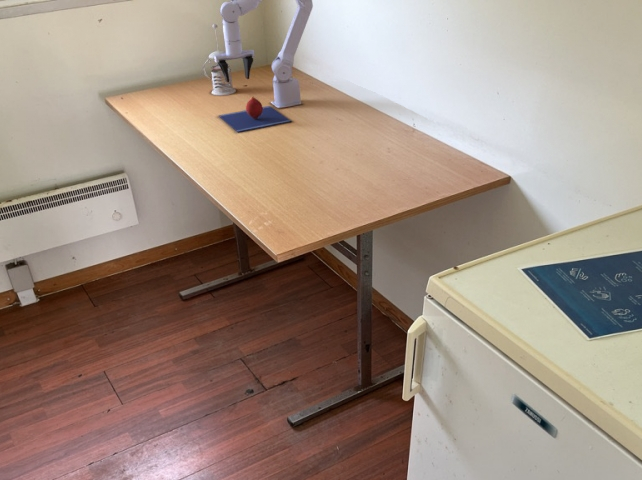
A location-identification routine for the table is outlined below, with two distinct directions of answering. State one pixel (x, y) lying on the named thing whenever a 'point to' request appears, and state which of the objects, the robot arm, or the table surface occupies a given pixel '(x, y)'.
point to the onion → (254, 108)
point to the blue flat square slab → (246, 122)
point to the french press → (219, 76)
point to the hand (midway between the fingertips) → (237, 80)
